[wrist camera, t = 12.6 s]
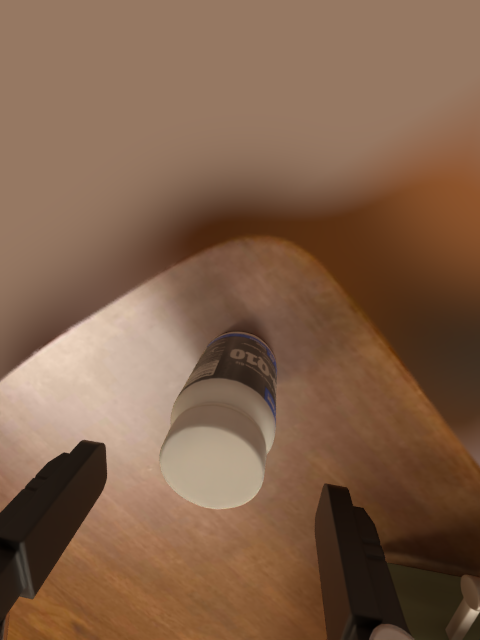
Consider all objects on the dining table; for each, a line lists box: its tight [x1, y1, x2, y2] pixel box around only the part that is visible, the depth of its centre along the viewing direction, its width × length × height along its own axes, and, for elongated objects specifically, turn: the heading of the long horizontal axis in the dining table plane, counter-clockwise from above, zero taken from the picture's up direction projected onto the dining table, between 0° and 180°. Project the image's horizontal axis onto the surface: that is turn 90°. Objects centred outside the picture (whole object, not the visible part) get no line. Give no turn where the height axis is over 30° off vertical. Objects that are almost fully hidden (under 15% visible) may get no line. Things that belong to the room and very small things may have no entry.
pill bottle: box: [159, 332, 277, 509], centre depth 15 cm, size 5×5×8 cm
